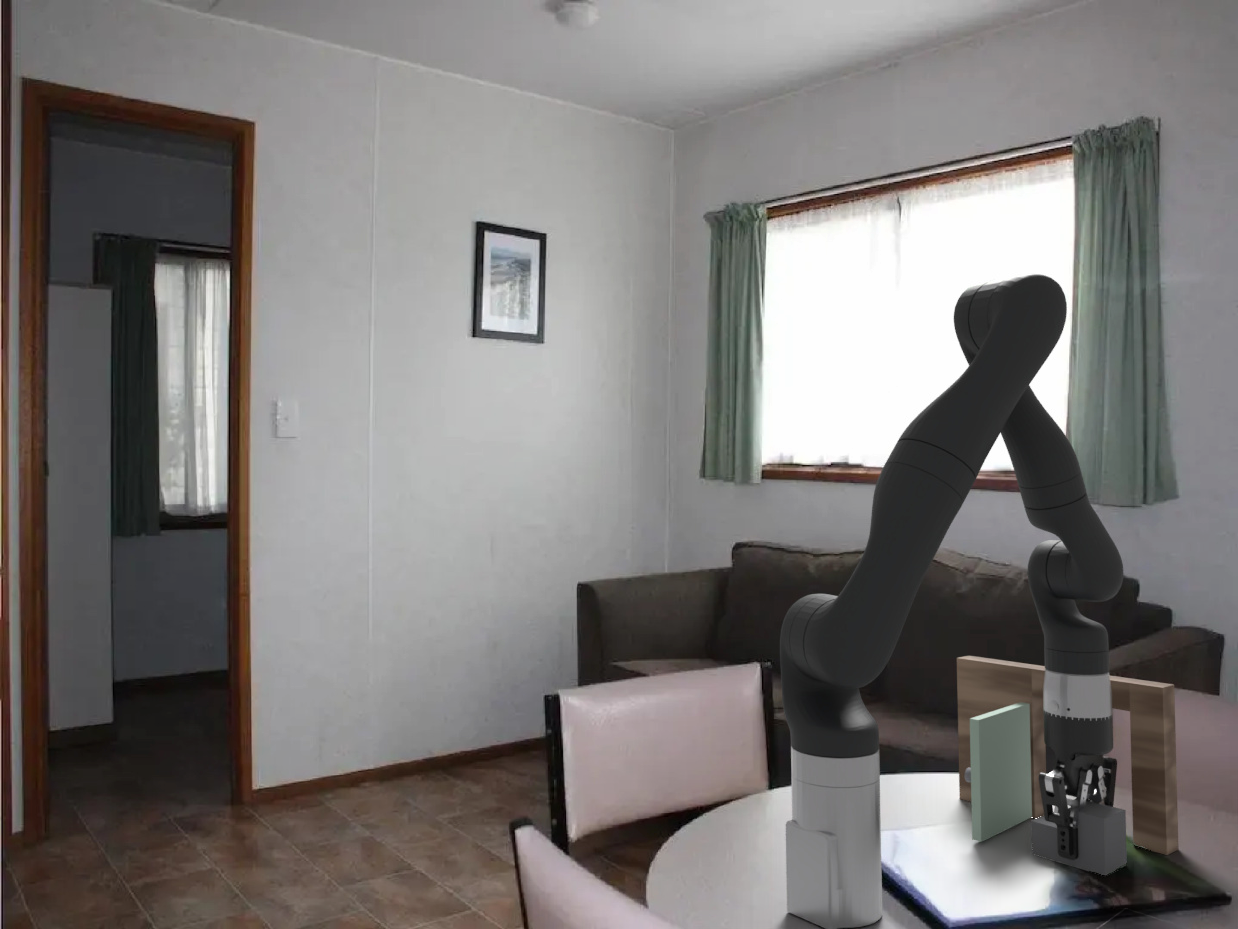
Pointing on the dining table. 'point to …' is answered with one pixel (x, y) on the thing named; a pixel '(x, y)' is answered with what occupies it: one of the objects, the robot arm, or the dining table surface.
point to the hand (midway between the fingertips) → (1080, 851)
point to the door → (1000, 770)
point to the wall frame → (1012, 683)
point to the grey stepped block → (1087, 839)
